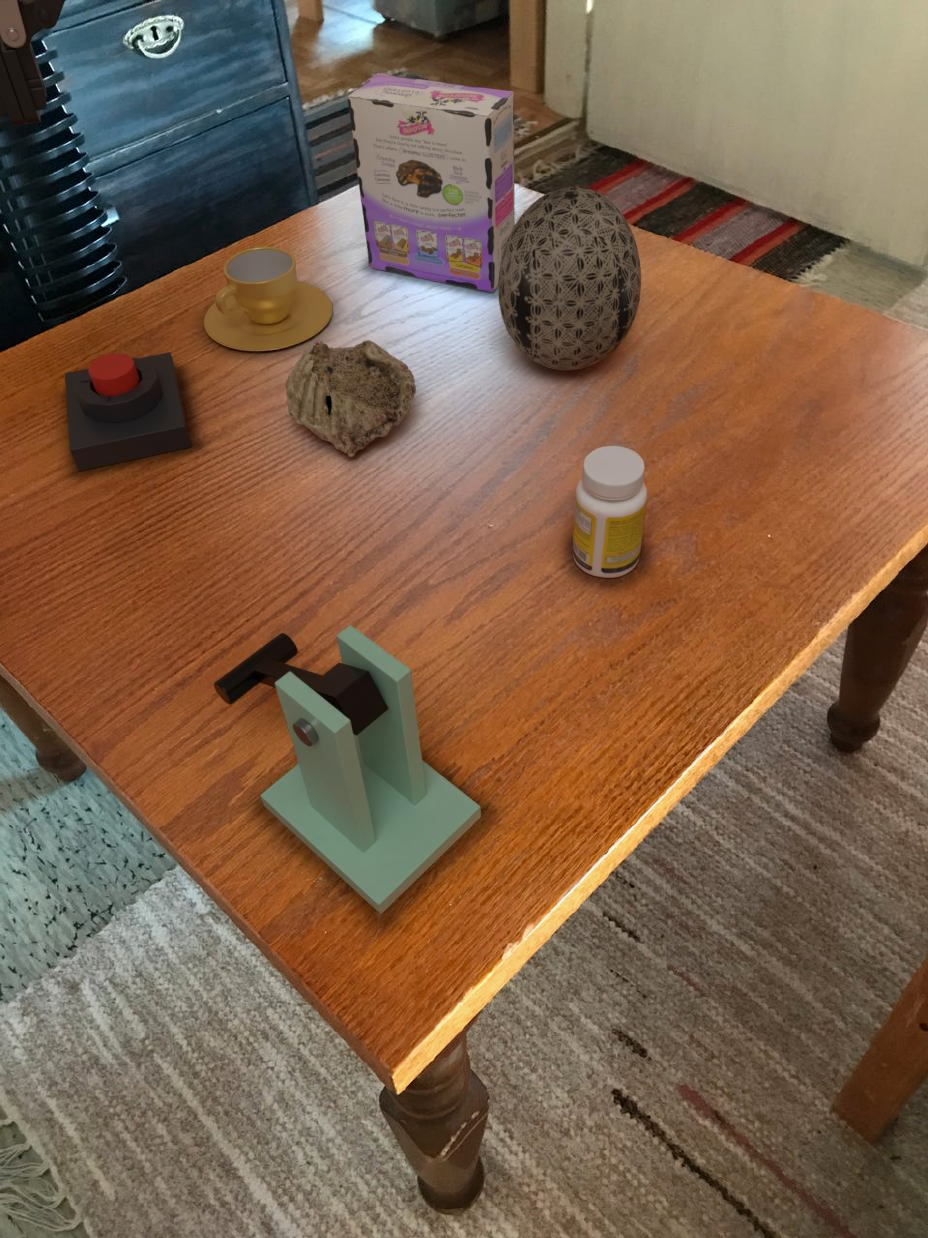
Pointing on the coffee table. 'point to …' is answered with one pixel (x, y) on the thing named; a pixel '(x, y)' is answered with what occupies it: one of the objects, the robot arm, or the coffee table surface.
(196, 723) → the coffee table surface
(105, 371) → the button
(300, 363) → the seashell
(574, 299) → the decorative egg
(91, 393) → the button housing
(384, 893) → the bracket
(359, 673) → the lever
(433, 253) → the candy box
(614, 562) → the supplement bottle
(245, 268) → the cup
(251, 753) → the coffee table surface
